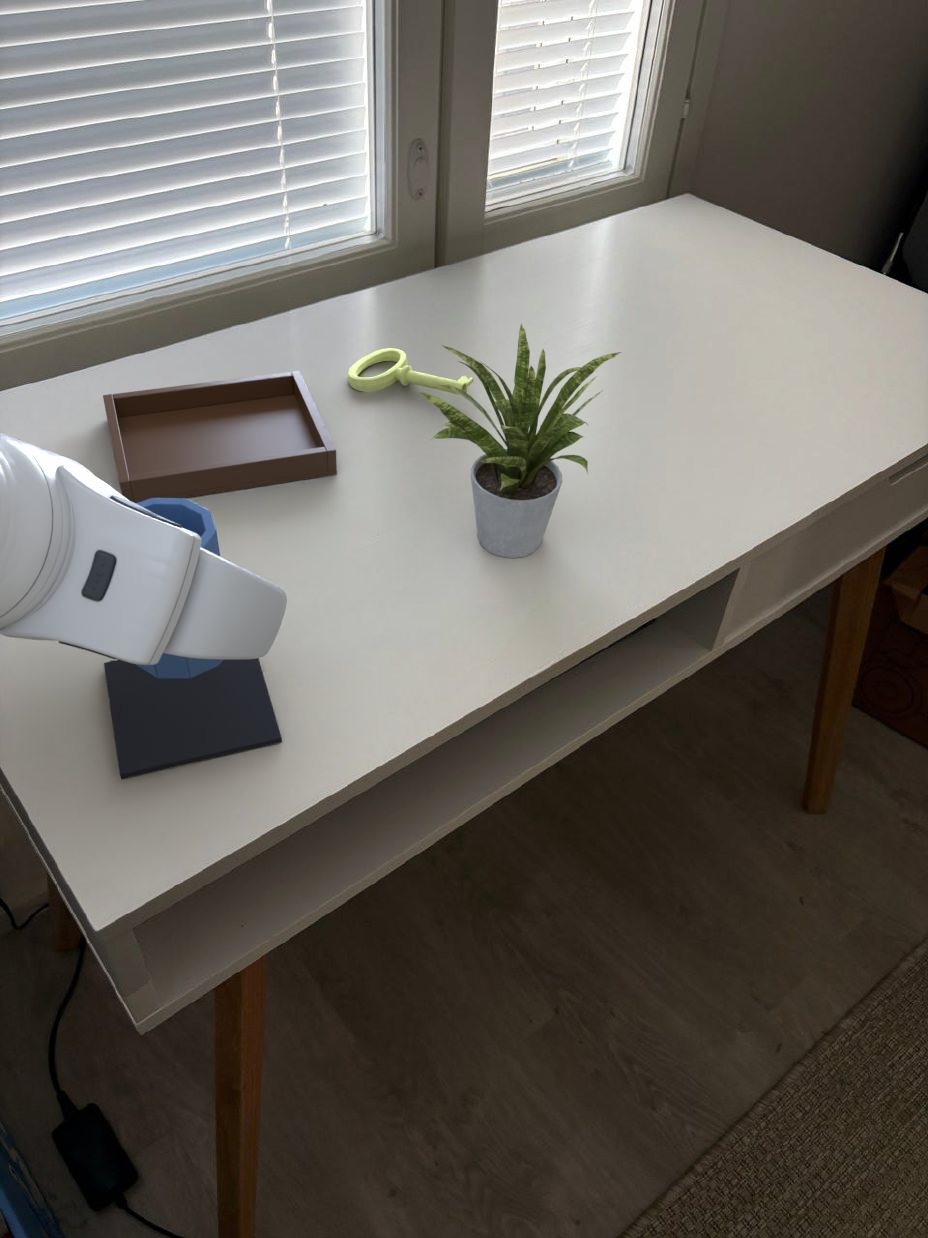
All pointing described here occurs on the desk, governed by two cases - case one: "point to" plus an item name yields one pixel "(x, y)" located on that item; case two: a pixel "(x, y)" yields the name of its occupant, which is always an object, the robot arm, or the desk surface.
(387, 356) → the key
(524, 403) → the house plant
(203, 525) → the blue faceted tube
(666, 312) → the desk surface
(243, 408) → the tray
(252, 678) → the mat
